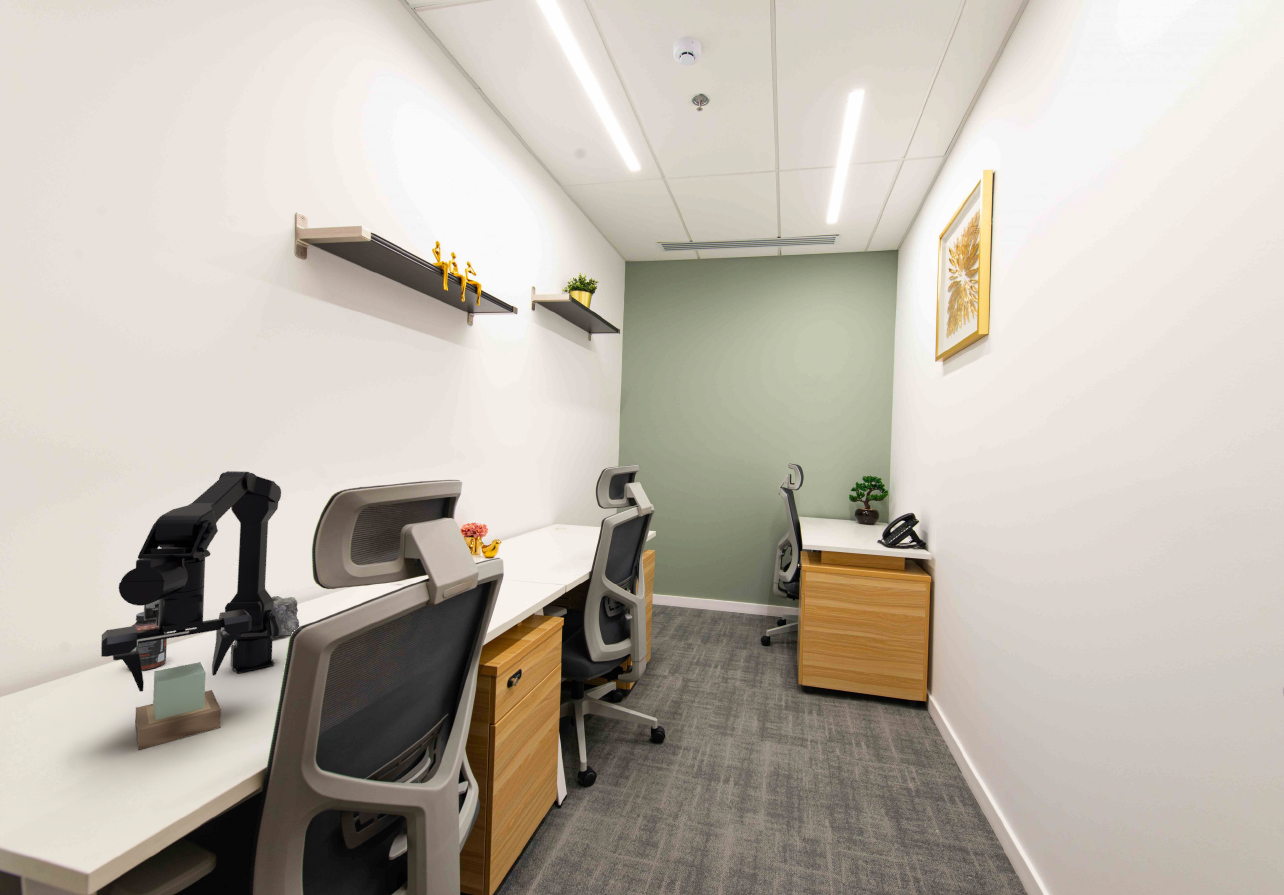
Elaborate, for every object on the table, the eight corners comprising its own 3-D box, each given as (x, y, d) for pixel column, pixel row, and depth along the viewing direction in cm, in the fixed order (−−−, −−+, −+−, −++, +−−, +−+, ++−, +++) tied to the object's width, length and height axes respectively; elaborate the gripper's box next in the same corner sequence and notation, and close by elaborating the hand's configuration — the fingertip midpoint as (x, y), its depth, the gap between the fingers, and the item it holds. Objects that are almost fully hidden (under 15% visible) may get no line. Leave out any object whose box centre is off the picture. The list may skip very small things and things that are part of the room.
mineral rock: (229, 648, 125) (230, 605, 125) (240, 633, 134) (242, 593, 135) (294, 641, 130) (296, 599, 130) (301, 627, 140) (302, 589, 140)
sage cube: (199, 696, 94) (200, 661, 94) (204, 708, 90) (205, 672, 90) (153, 707, 90) (154, 671, 90) (155, 720, 85) (157, 682, 86)
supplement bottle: (172, 663, 115) (173, 610, 115) (136, 673, 109) (138, 618, 110) (157, 658, 117) (159, 606, 118) (121, 668, 112) (123, 614, 112)
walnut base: (211, 706, 97) (211, 689, 97) (220, 727, 90) (220, 708, 90) (135, 725, 90) (135, 706, 90) (138, 749, 83) (139, 729, 83)
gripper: (241, 572, 102) (238, 654, 102) (102, 588, 89) (99, 683, 89) (253, 583, 94) (250, 672, 94) (103, 602, 81) (99, 706, 81)
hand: (178, 682), depth 90 cm, fingers open, 9 cm apart
